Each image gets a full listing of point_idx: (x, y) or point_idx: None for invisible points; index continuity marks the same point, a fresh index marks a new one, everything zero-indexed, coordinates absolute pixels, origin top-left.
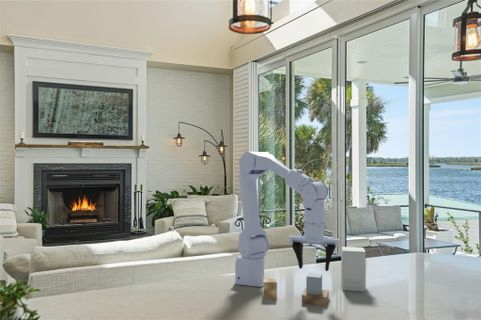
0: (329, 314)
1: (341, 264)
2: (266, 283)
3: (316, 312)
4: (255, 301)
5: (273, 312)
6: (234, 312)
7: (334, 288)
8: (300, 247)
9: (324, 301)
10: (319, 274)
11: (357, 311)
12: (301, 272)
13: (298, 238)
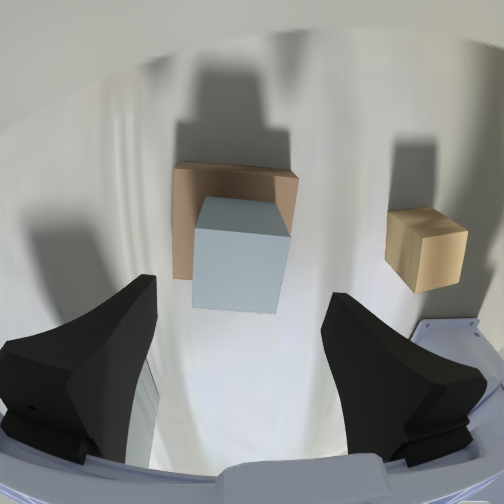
0: (166, 66)
1: (142, 443)
2: (456, 229)
3: (222, 74)
4: (453, 173)
5: (394, 57)
6: (491, 67)
7: (173, 365)
8: (409, 406)
9: (186, 165)
10: (207, 299)
11: (65, 139)
12: (283, 448)
13: (466, 479)
